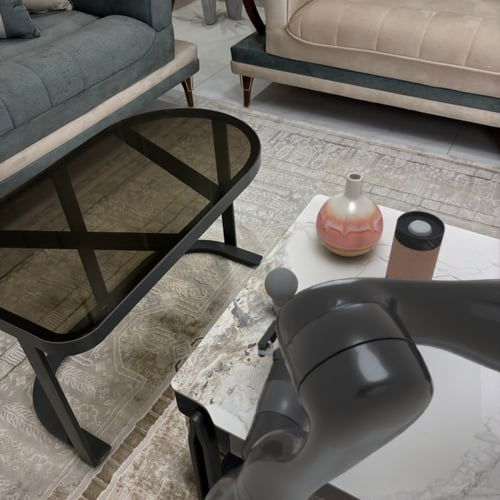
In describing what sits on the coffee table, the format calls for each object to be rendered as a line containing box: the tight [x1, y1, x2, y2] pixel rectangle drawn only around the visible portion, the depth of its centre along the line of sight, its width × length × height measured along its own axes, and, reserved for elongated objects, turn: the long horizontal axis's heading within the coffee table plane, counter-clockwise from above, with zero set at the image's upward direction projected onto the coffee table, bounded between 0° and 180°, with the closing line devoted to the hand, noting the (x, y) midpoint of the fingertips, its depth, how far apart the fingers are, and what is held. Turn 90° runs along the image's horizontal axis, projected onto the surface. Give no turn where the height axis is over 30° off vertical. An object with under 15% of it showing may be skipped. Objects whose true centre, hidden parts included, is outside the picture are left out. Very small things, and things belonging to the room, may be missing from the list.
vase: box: [315, 171, 384, 258], centre depth 101 cm, size 14×14×18 cm
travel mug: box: [384, 210, 446, 280], centre depth 86 cm, size 8×8×20 cm
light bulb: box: [263, 267, 299, 315], centre depth 90 cm, size 6×6×10 cm
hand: (316, 313), depth 81 cm, fingers closed on beverage can, 5 cm apart
